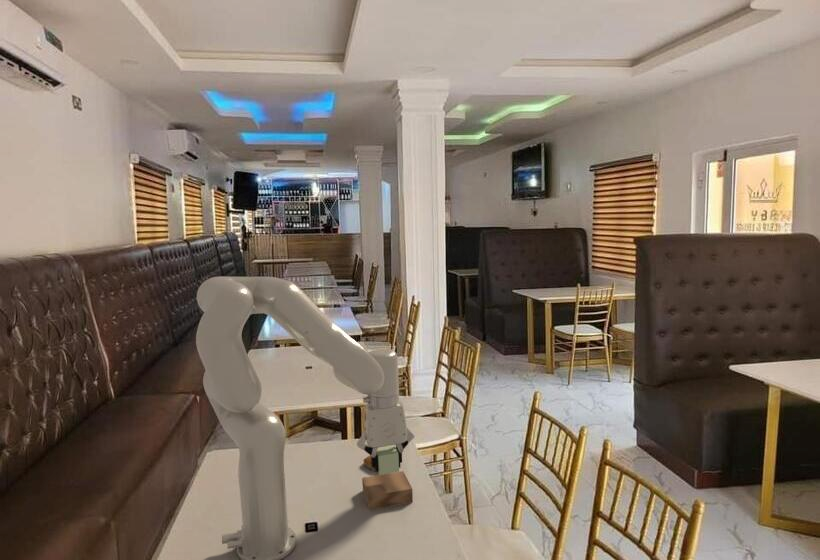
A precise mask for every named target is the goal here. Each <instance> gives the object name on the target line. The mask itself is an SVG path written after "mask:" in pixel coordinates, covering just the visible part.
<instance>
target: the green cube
mask: <svg viewBox="0 0 820 560" xmlns="http://www.w3.org/2000/svg"><path fill="white" fill-rule="evenodd" d="M377 456H378V468H379V471H378V472H377V473H378V475H383V474H389V473H395V472H400V468H399V457H398V451H397V450H396V445H390V446H384V447H378V449H377Z"/></svg>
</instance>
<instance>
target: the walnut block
mask: <svg viewBox="0 0 820 560" xmlns="http://www.w3.org/2000/svg"><path fill="white" fill-rule="evenodd" d="M361 479H362V480H361V481H362V492H363V495H364V498H365V501H366V504H367V506H368V507H367V508H368V510H369V511H370V510H375V509H381V508H388V507H393V506H394V507H395V506H399V505H405V504H410V502H411V503H414V500H413V499H414V498H413V487H412V485H411V483H410V481H409V480H408V477H407V476H406V473H405V471H403V470H402V471H399V472H394V473H389V474H383V475H379V474H378V475H371V476H370V475H369V476H364V477H361Z"/></svg>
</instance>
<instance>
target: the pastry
mask: <svg viewBox="0 0 820 560" xmlns="http://www.w3.org/2000/svg"><path fill="white" fill-rule="evenodd" d="M363 463H364V465H365V467H366V468H369V469H370V470H373V471H375V469H374V468H372V465H371V455H370V454H369V455H368V456H366V457H365V458H363Z"/></svg>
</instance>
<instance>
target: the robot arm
mask: <svg viewBox="0 0 820 560" xmlns="http://www.w3.org/2000/svg"><path fill="white" fill-rule="evenodd" d="M196 301H197V305H198V307H199V308H200V310H202V312H203V314H202V316H201V318H200V320H199V323H198V327H197V329H196V337H195V344H196V348H197V349H196V350H197V352H198V355H199V358H200V360H201V362H202V365H203V367H204V370H205V371H204V373H203V381H202V384H203V389H204V391H205V394H206V397H207V399H208V400H209V403H210V404H211V407H212V409H213V410H214V413H215V415H216V416H217V419H218V421H219V423H220V425H221V427H222V428H223V429H224V431H225V432H226V434H227V435H228V436H229V437H230V439H231V440H232V441H233V442H234V443H235V445H236V446H237V448H238V449H239V460H238V467H237V468H238V472H237V473H238V475H237V476H238V485H239V486H238V487H239V497H240V499H239V500H240V510H241V522H242V524H241V529H238V530H237V531H236V532H232V533H224V534H222V535H221V545H225V544H226V545H227V547H226V549H227V550H228V549H229V550H230V549H233V548H236V552H237V553H236V554H237V556H238V558H239V559H240V560H282V559H284V558H285V557H287V556H288V555H289V554H291V552H292V551H293V550H294V549H295V547H296V544H297V536H296V533H295V531H294V530H293V529H292V528H290V527H289V520H288V506H287V493H286V492H287V489H286V488H287V487H286V477H285V462H284V461H285V447H286V430H285V429H286V428H285V427H284V425H283V422H282V420H281V419H280V417H279V416H278V415H277V414H276V413H275V412H273V411H272V410H271V409H269V408H268V407H266V406H265V405H264V404H262V402H261V401H260V400H261V398H262V395H263V394H262V391H263V388H262V384H261V381H260V377H259V376H258V373H257V372H256V370H255V368H254V366H253V364H252V362H251V360H250V357H249V355H248V353H247V350H246V348H245V344H244V342H243V337H242V334H243V329H244V326H245V324H246V322H247V321H248V319H249V318H250V315H257V314H265V315H267V316H269V317H270V318H271V319H273V320H274V321H275V322H276V323H277V324H278V325H279V326H280V327H282V329H283V330H285V331H286V332H287V333H288V334H289V335H290V336H291V337H292V338H293V339H294V340H295V341H296V342H297V343H298V344H299V345H300V346H301V347H302V348H303V349H304V350H306V351H307V352H309V353H310V354H311V355H313V356H314V357H316V358H317V359H320V360H321V361H323V362H325V363H326V364H328V365H329V366H331V367H332V368H333V369H332V371H333V375H334V377H335V379H336V380H337V381H339V382H340V383H341V384H343V385H345V386H347V387H349V388H351V389H352V390H354V391H356V392H357V393H359V394H362V395H366V396H365V397H362V403H364V404H366V407H365V415H364V431H363V433H362V435H360V437H359V439H358V441H356V446H357V447H358V448H359V449H361V450H362V451H364V452H365V453H367V454H368V455H369V456H370V455H371V465H372V468H374V469H375V470H374V471H375V473H378V471H379V468H378V456H377V449H378V447H384V446H390V445H394V446H395V448H396V450H397V451H398V457H399V469H400V468H401V467H402V466H401V464H402V463H403V452H404V449H405V448H406V447H407V446H408V445H409V443H410V442H412V440H413V439H415V435H414V433H413V432H412V431H411V430H410V429H409V428H408V427H407V419H406V413H405V408H404V404H403V402H402V401H401V400H400V392H399V391H400V386H399V362H398V354H397V352H396V351H395V350H393V349H389V348H376V349H372V350H371V351H369V352H368V351H367V350H366V349H365V348H364V347H363V346H362V345H361V344H359V343H358V342H357V341H356V340H355V339H353V338H352V337H351V336H350V335H349V334H348V333H346V332H345V331H344V329H342V328H341V327H340V326H338V325H337V324H336V323H335V322H334V321H333V320H331V319H330V317H328V315H326V314H325V312H324V311H322V310H321V309H320V307H318V305H316V303H315V302H314V301H313V300H312V299H311V298H310V297H309V296H308V295H307V294H306V293H305V292H304V291H303V290H302V289H301V288H300V287H299V286H297V285H296V284H295V283H294V282H292V281H290V280H286V279H283V278H280V277H279V278H278V277H276V276H221V275H220V276H213V277H210V278H208V279H206V280H205V281H203V282H202V283H201V284H200V286H198V290H197V291H196Z"/></svg>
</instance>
